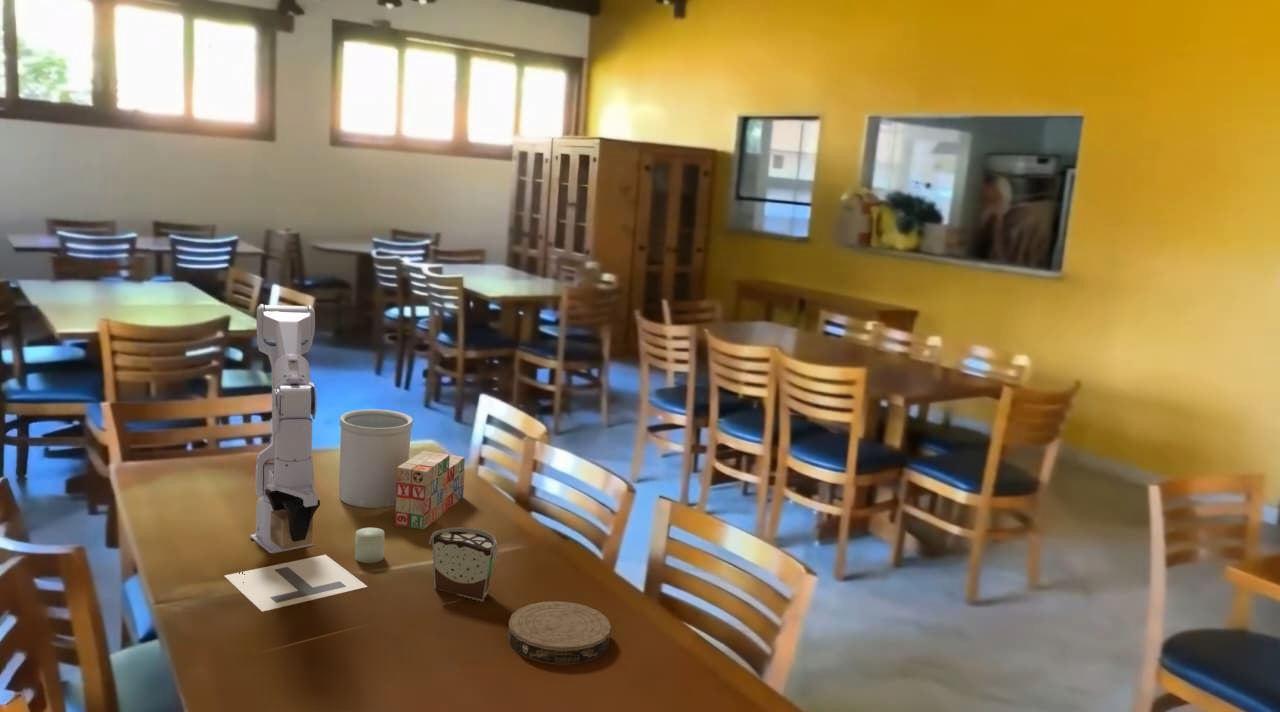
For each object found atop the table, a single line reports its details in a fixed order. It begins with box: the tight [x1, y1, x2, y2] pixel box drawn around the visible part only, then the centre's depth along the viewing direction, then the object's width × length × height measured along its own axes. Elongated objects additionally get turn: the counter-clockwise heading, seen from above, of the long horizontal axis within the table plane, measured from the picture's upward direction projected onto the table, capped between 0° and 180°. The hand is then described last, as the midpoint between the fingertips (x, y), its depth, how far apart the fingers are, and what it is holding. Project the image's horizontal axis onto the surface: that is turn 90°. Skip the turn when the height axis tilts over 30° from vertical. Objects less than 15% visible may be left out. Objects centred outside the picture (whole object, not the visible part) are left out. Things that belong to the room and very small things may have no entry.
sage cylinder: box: [354, 527, 385, 564], centre depth 179 cm, size 5×5×5 cm
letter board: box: [224, 554, 368, 613], centre depth 167 cm, size 16×18×1 cm
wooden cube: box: [270, 509, 314, 550], centre depth 166 cm, size 5×5×5 cm
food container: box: [428, 527, 499, 602], centre depth 170 cm, size 12×6×10 cm, turn 71°
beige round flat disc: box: [507, 600, 612, 665], centre depth 155 cm, size 16×16×3 cm
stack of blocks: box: [394, 450, 466, 530], centre depth 205 cm, size 21×6×12 cm, turn 169°
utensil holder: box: [338, 408, 414, 509], centre depth 209 cm, size 15×15×18 cm
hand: (291, 534), depth 166 cm, fingers closed on wooden cube, 5 cm apart
